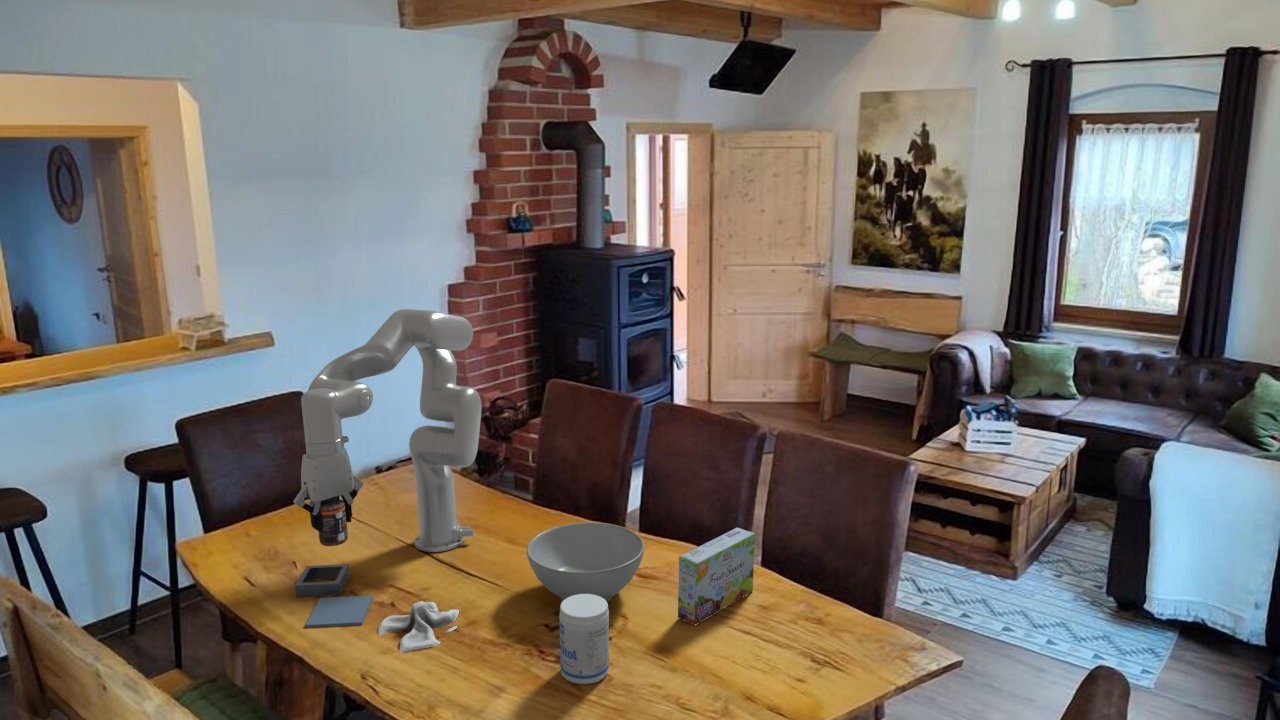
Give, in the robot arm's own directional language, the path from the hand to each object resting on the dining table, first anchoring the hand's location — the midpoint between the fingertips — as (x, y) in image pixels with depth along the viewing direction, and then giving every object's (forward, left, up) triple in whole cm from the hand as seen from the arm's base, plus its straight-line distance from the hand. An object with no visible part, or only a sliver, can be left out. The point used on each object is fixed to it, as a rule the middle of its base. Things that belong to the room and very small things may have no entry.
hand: (332, 524), depth 198 cm
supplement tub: (-54, +29, -21) cm, 65 cm away
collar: (+7, -13, -21) cm, 26 cm away
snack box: (-84, +5, -21) cm, 87 cm away
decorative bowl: (-55, -3, -21) cm, 59 cm away
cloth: (-20, +7, -22) cm, 30 cm away
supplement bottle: (0, 0, -4) cm, 4 cm away
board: (0, 0, -21) cm, 21 cm away
